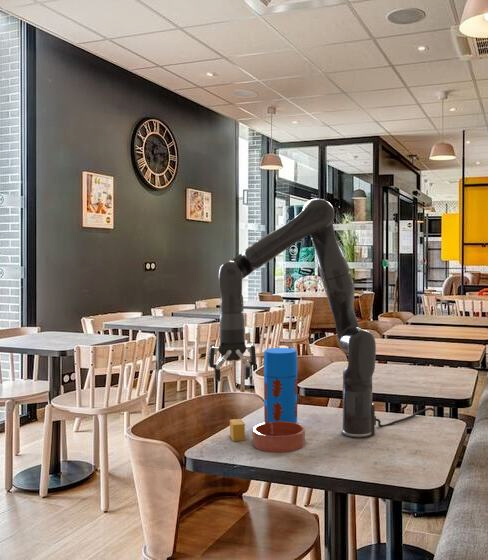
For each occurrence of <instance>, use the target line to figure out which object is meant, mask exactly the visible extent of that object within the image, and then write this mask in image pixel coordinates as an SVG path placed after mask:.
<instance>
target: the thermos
mask: <svg viewBox="0 0 488 560" xmlns="http://www.w3.org/2000/svg"><path fill="white" fill-rule="evenodd" d="M263 411H264V412H263V415H264V417H263V418H264V423H266V422H274V421H286V422H294V423H298V352H297V349H295V348H290V347H273V348H271V347H270V348H266V349H264V352H263Z"/></svg>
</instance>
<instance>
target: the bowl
mask: <svg viewBox="0 0 488 560" xmlns="http://www.w3.org/2000/svg"><path fill="white" fill-rule="evenodd" d="M252 444H253V446H254V448H256V449H258V450H261V451H263V452H270V453H286V452H293V451H297V450H300V449H301V448H303V447H304V446H305V444H306V428H305V426H304V425H303V424H300V423H298V422H297V423H294V422H286V421H274V422H266V423H265V422H262V423H259V424H257V425H255V426H254V427H253V429H252Z"/></svg>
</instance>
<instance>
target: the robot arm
mask: <svg viewBox="0 0 488 560" xmlns="http://www.w3.org/2000/svg"><path fill="white" fill-rule="evenodd" d="M334 218H335V209H334V207H333V205H332V204H331V203H330V202H329V201H327V200H326V199H323V198H312V199H310V200H308V201H306V203H305V204H304V205H303V207H302V210H301V212H299V214H298V215H296V216H295V217H293V218H292V219H291V220H290V221H288V222H287V223H286V224H284V225H283V226H281V227H279V228H277V229H276V230H273V231H272V232H270V233H268V234H266V235H264V236H262V237H261V238H260V239H258V240H257V241H256V242H254V243H253V244H250V246H248V247H247V248H246V249H244V251H242V252H241V253H239V254H238V255H236V256H234V257H233V258H232V259H230V260H228V261H226V262H224V263H223V264H221V266H220V267H219V270H218V285H219V293H220V298H219V323H218V327H219V345H218V346H217V347H214V346H209V348H208V361H207V362H208V364H207V365H208V366H209V367H210V368H212V369H214V379H215V380H216V381H217V383H218V382H221V367H222V366H223V364H224V363H225V362H226V361H227V362H231V361H236V362H237V361H239V360H240V361H241V362H242V363H243V365H244V366H243V378H244V380H249V378H250V377H251V367H252V366H255V365H257V356H256V355H257V353H256V346H255V345H254V344H249V345H246V344H245V343H246V342H245V341H246V340H245V333H246V332H245V331H246V330H245V329H246V328H245V314H244V296H243V280H244V279H245V278H247V276H249V275H250V274H252V273H253V272H254V271H255V270H258V269H260V268H262V267H263V266H264V265H266V264H267V263H269V262H270V261H272V260H274V258H276V257H277V256H279V255H281V254H282V253H283V252H284V251H286V250H288V249H289V248H290V247H292V246H293V245H295V244H297V243H298V242H299V241H301V240H303V239H305V238H307V237H310V238H311V242H312V244H313V248H314V252H315V257H316V262H317V267H318V271H319V275H320V280H321V283H322V287H323V290H324V292H325V296H326V298H327V301H328V304H329V305H328V306H329V308H330V311H331V313H332V317H333V320H334V326H335V331H336V335H337V337H336V338H337V341H338V346H339V348H340V350H341V351H342V352H343V353H344V355H346V356H348V359H347V360H348V361H347V367H346V368H345V369H343V371H342V435H344V436H346V437H349V438H359V439H360V438H368V437H371V436H375V435H376V434H375V433H376V432H375V431H376V426H378V427H379V428H382V427H387V426H392V425H394V424H396V423H397V424H398V423H401V422H404V421H407V420H410V419H412V418H414V417H416V416H417V415H419V414H421V413H424V412H427V411H432V412H436V410H435V408H433V407H426V408H424V409H422V410H419V411H416V412H414V413H413V414H411V415H409V416H406V417H403V418H400V419H396V420H393V421H391V422H388V423H386V424H381V423H382V422H381V419H379V418H377V416H376V405H375V404H374V403H373V376H374V372H375V369H376V354H377V343H376V339H375V336H374V335H373V333H372V332H370V331H369V330H367V329H363V328H361V326H360V324H359V321H358V319H357V316H356V312H355V283H354V279H353V276H352V272H351V269H350V266H349V263H348V261H347V259H346V257H345V254H344V252H343V250H342V248H341V246H340V244H339V241H338V239H337V236H336V232H335V227H334V223H333V221H334ZM246 351H247V352H248V353H249V360H247V358H246V357H245V356H244V354H245V352H246ZM217 352H218V353H219V354H220V355H219V357H218V359H217V361H216V362H215V355H217V354H218V353H217ZM435 512H436V513H438V512H439V502H436V503H435Z"/></svg>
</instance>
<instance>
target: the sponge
mask: <svg viewBox="0 0 488 560" xmlns="http://www.w3.org/2000/svg"><path fill="white" fill-rule="evenodd" d="M245 429H246V428H245V423H244V421H243V420H242V419H241V418H233V419H229V436H230V438H231V439H232V442H240V441H245V440H246V438H245V437H246V431H245Z"/></svg>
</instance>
